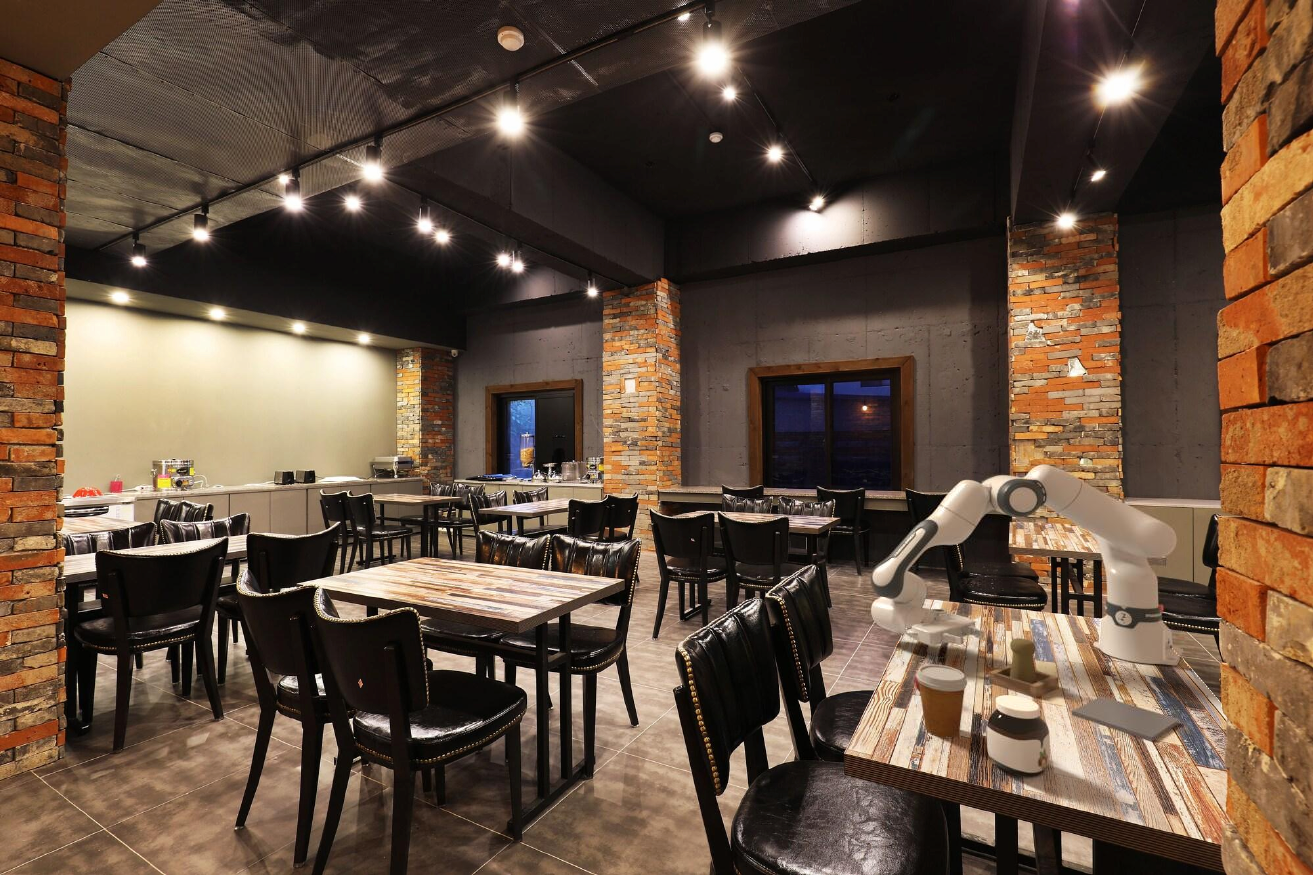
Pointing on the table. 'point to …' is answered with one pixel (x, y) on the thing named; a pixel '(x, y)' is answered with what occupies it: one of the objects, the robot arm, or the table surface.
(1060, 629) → the table surface
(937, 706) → the disposable coffee cup
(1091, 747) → the table surface
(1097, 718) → the coaster
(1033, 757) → the spread jar
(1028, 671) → the cork
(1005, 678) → the square wooden frame
